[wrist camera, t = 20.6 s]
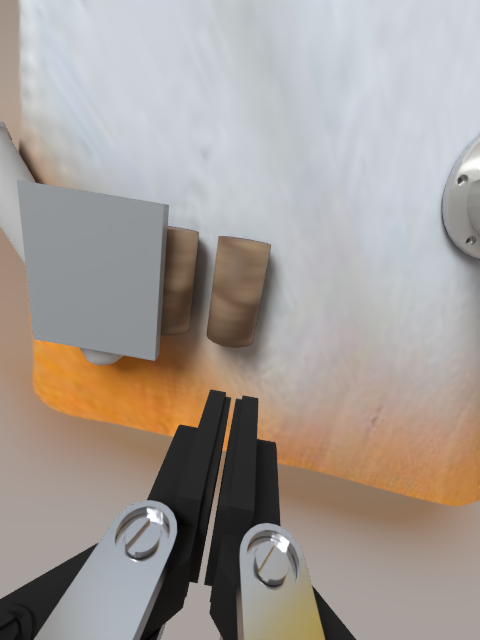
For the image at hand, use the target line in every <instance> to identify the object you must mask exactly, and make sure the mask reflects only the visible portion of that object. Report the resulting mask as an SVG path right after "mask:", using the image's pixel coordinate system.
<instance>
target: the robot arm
mask: <svg viewBox="0 0 480 640" xmlns="http://www.w3.org/2000/svg"><path fill="white" fill-rule="evenodd" d="M458 180H459V182H457V181H458ZM442 213H443V219H444V225H445V227H446V230H447V232H448V235H449V236H450V238H451V239H452V241H453V242H454V244H455V245H456V246H457V247H458V248H460V249H461V250H462V251H463V252H464V253H466V254H468V255H470V256H472V257H474V258H477V259H480V135H479V136H478V137H477V138H476V139H474V140H473V141H472V142H471V143H470V145H469V146H468V147H467V148H466V149H465V151H464V152H463V153H462V154H461V156H460V157H459V159H458V160H457V162H456V164H455V165H454V167H453V169H452V171H451V173H450V176H449V178H448V181H447V183H446V187H445V191H444V195H443V207H442ZM466 240H467V241H466ZM225 396H226V392H221V391H216V390H210V393H209V396H208V399H207V402H206V405H205V408H204V411H203V414H202V417H201V420H200V423H199V426H198V428H195V427H190V426H185V425H179V426H178V428H177V431H176V433H175V435H174V438H173V440H172V442H171V445H170V447H169V450H168V452H167V454H166V457H165V459H164V461H163V464H162V466H161V468H160V471H159V473H158V476H157V478H156V480H155V483H154V485H153V487H152V490H151V492H150V494H149V497H148V499H147V501H140V502H138V503H135V504H132V505H130V506H129V507H127V508H126V509H125V510H123V511H122V512H121V513H120V514H119V515H118V516H117V517H116V519H115V520H114V521H113V522H112V524H111V525H110V527H109V528H108V530H107V531H106V533H105V535H104V536H103V538H102V539H101V540H100V542H99V543H97V544H95V545H94V546H92V547H90V548H88V549H87V550H85V551H83V552H81V553H80V554H78V555H76V556H74V557H73V558H71V559H69V560H67V561H66V562H64V563H62V564H61V565H59V566H57V567H55V568H54V569H52V570H50V571H48V572H47V573H45V574H43V575H41V576H40V577H38V578H36V579H34V580H33V581H31V582H29V583H28V584H26V585H24V586H22V587H21V588H19V589H17V590H15V591H14V592H12V593H10V594H9V595H7V596H5V597H3V598H1V599H0V640H160V639H161V636H162V634H163V631H164V628H165V624H166V622H167V621H168V620H169V619H170V618H172V617H173V616H174V615H175V614H176V613H177V612H178V611H180V610H181V609H182V608H183V604H184V600H185V597H186V596H187V592H188V587H189V582H194V583H198V577H199V572H200V567H201V562H202V557H203V551H204V546H205V541H206V535H207V530H208V524H209V519H210V514H211V508H212V502H213V498H214V492H215V487H216V482H217V476H218V471H219V465H220V460H221V454H222V448H223V442H224V437H225V431H226V425H227V419H228V413H229V408H230V402H231V398H230V397H225ZM257 423H258V398H254V397H249V396H243V397H242V400H241V399H236V402H235V408H234V413H233V419H232V424H231V430H230V435H229V441H228V447H227V452H226V458H225V464H224V469H223V475H222V481H221V488H220V493H219V499H218V505H217V511H216V517H215V523H214V529H213V535H212V541H211V547H210V553H209V559H208V565H207V571H206V577H205V583H204V585H208V586H212V591H211V598H210V602H211V606H210V615H211V617H212V619H213V621H214V623H215V625H216V627H217V628H218V630H219V632H220V640H356V639H355V638H354V636H353V635H352V634H351V633H350V631H349V630H348V629H347V628H346V626H345V625H344V624H343V623H342V622H341V620H340V619H339V618H338V617H337V615H336V614H335V613H334V612H333V610H332V609H331V608H330V607H329V605H328V604H327V603H326V602H325V601H324V599H323V598H322V597H321V596H320V594H319V593H318V592H317V591H316V589H315V588H314V587H313V586H312V585H311V580H310V576H309V572H308V568H307V564H306V560H305V557H304V554H303V551H302V549H301V547H300V545H299V544H298V542H297V541H296V539H295V538H294V537H293V536H292V535H291V534H290V533H289V532H288V531H287V530H286V529H284V528H282V527H280V509H279V489H278V472H277V471H278V470H277V450H276V443H275V442H270V441H265V440H259V439H257Z"/></svg>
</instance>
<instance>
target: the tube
mask: <svg viewBox="0 0 480 640" xmlns="http://www.w3.org/2000/svg"><path fill="white" fill-rule="evenodd" d="M11 140H12V138H11V136H10V134H9V132H8V130H7V127H6V125H5V124H4V123H3V122H1V121H0V227H1V228H2V230H3V231H4V233H5V234H6V236H7V237H8V239H9V240H10V242H11V243H12V245H13V246H14V248H15V250H16V251H17V253H18V254H19V256H20V257H21V259H22V260H23V262H24V263H25V254H24V245H23V235H22V225H21V216H20V206H19V197H18V187H17V180H21V181H27V182H33V183H36V182H35V180H34V178H33V177H32V175H31V173H30V171H29V170H28V168H27V166H26V165H25V163H24V161H23V160H22V158H21V156H20V154H19V153H18V151H17V149H16V148H15V146H14V144H13V143H12V141H11ZM25 265H26V264H25ZM79 348H80V347H79ZM80 349H81V351H82V352H83V354H84V355H85V357H86V358H87V360H88V361H89V362H91V363H93V364H96V365H99V366H100V365H108V364H112V363H115V362H117V361H118V360H119V359H120V358H122V357H123V356H124V355H119V354H114V353H108V352H103V351H97V350H92V349H86V348H80Z"/></svg>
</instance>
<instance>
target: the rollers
mask: <svg viewBox="0 0 480 640" xmlns="http://www.w3.org/2000/svg"><path fill="white" fill-rule="evenodd" d="M198 237H199V232H197V231H193V230H188V229H183V228H177V227H170V226H168V227H167V242H166V258H165V273H164V289H163V305H162V320H161V335H177V334H182V333H184V332H186V331H188V330H189V326H190V316H191V306H192V296H193V286H194V276H195V266H196V256H197V247H198ZM270 248H271V245H270V244H268V243H264V242H259V241H254V240H249V239H243V238H236V237H227V236H219V238H218V246H217V254H216V262H215V270H214V278H213V286H212V294H211V302H210V310H209V318H208V327H207V337H208V339H210V340H211V341H212V342H214V343H216V344H219V345H222V346H227V347H246V346H249V345H251V344H252V343H253V339H254V334H255V328H256V323H257V318H258V312H259V307H260V302H261V296H262V291H263V286H264V280H265V275H266V270H267V264H268V259H269V254H270Z"/></svg>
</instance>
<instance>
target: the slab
mask: <svg viewBox="0 0 480 640" xmlns="http://www.w3.org/2000/svg"><path fill="white" fill-rule="evenodd" d="M17 187H18V197H19V206H20V216H21V225H22V235H23V245H24V254H25V264H26V274H27V283H28V293H29V302H30V312H31V322H32V331H33V339H36V340H42V341H47V342H53V343H58V344H64V345H69V346H75V347H80V348H86V349H92V350H97V351H103V352H108V353H114V354H119V355H125V356H130V357H136V358H142V359H147V360H153V361H155V360H156V359H157V357H158V356H159V351H160V336H161V320H162V305H163V289H164V273H165V258H166V242H167V227H168V211H169V205H166V204H160V203H154V202H148V201H142V200H136V199H130V198H124V197H118V196H112V195H106V194H100V193H94V192H87V191H81V190H75V189H69V188H63V187H57V186H51V185H45V184H39V183H33V182H27V181H21V180H17Z"/></svg>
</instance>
